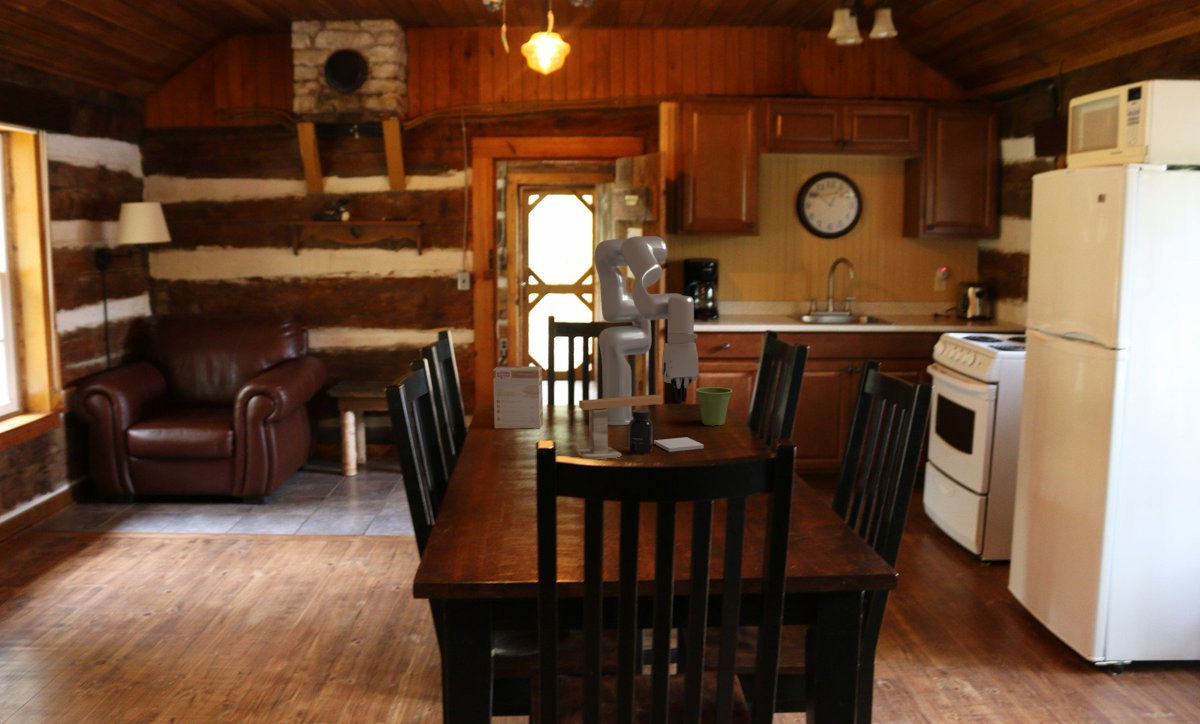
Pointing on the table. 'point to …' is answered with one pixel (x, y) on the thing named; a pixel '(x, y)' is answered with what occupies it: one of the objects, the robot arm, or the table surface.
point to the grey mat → (678, 444)
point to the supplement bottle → (640, 432)
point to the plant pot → (713, 404)
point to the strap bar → (620, 402)
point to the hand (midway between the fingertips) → (680, 401)
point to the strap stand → (598, 437)
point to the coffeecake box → (518, 397)
